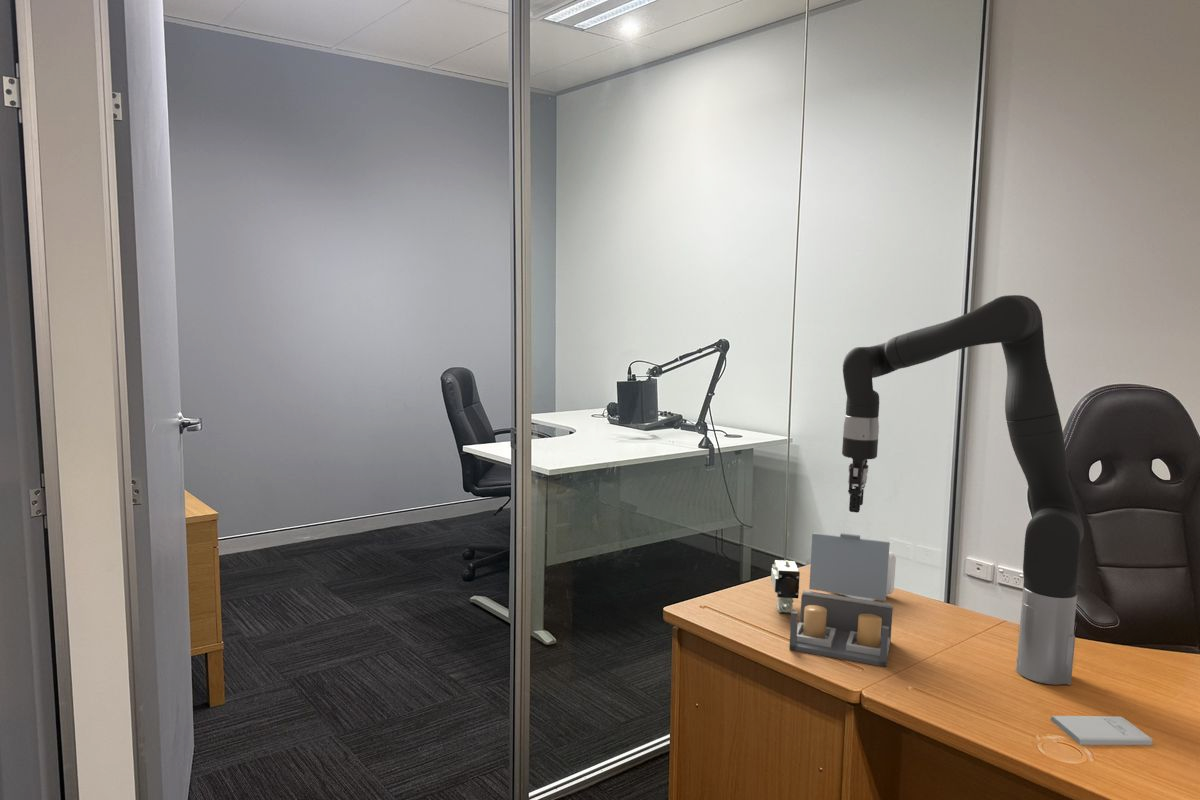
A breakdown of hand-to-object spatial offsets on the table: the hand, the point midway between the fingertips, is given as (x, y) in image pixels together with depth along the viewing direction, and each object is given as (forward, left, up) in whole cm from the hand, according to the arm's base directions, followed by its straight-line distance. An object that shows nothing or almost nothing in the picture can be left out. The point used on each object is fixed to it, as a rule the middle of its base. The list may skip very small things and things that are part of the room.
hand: (855, 508), depth 186 cm
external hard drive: (-45, +35, -27) cm, 63 cm away
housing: (0, +17, -26) cm, 31 cm away
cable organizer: (0, -18, -26) cm, 32 cm away
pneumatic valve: (+15, +2, -26) cm, 30 cm away
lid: (0, +11, -10) cm, 15 cm away
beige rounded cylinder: (-6, +17, -25) cm, 31 cm away
